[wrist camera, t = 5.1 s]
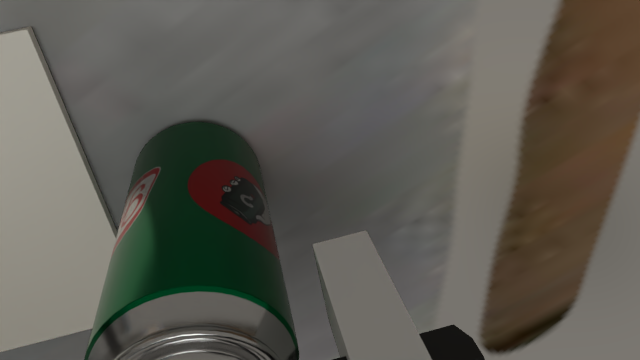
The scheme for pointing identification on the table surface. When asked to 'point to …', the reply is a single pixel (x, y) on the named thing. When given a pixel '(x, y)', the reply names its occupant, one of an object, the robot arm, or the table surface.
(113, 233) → the folded white napkin
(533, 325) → the table surface
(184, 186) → the soda can
